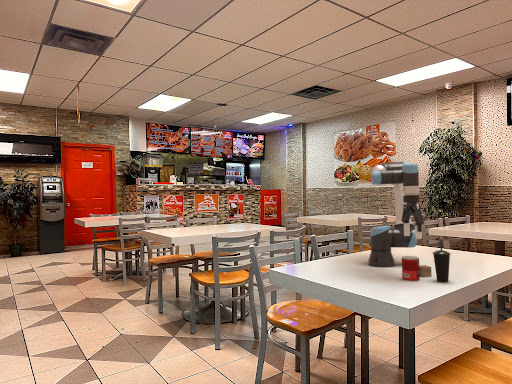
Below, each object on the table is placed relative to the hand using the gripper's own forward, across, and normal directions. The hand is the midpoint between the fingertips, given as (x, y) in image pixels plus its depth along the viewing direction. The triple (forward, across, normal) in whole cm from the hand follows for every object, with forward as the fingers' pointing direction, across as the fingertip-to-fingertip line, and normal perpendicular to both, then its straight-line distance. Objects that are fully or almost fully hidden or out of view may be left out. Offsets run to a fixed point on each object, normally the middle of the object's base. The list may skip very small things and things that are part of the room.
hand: (412, 237), depth 177 cm
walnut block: (+21, -7, +8) cm, 23 cm away
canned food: (+21, 0, -2) cm, 21 cm away
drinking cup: (+21, +6, +11) cm, 24 cm away
